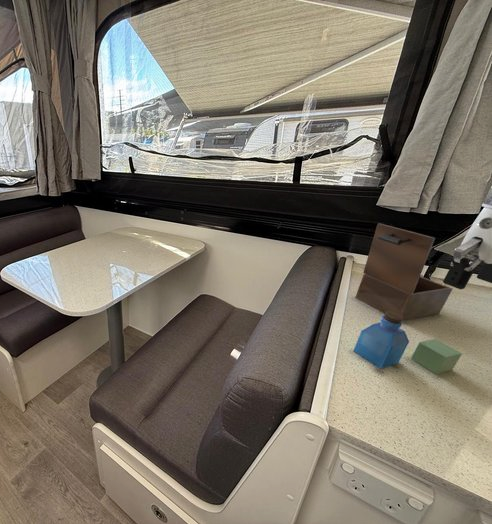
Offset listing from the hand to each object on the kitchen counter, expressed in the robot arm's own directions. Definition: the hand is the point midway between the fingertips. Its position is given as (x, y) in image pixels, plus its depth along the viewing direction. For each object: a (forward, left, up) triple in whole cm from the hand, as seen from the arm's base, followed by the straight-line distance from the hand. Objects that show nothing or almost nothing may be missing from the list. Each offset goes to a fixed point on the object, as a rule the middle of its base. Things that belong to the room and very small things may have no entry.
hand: (470, 283), depth 56 cm
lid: (-8, -19, -3) cm, 21 cm away
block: (+2, +2, -20) cm, 21 cm away
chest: (-16, -19, -20) cm, 33 cm away
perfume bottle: (+12, -3, -21) cm, 24 cm away
